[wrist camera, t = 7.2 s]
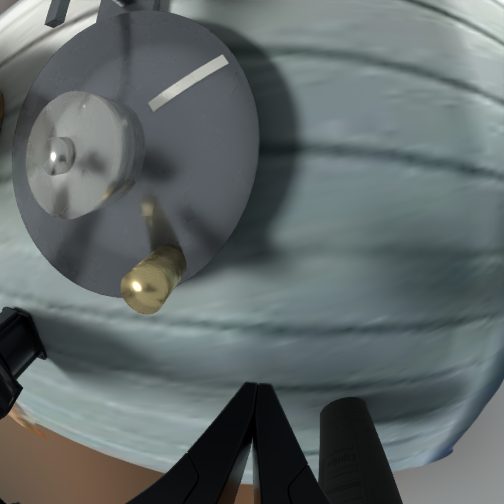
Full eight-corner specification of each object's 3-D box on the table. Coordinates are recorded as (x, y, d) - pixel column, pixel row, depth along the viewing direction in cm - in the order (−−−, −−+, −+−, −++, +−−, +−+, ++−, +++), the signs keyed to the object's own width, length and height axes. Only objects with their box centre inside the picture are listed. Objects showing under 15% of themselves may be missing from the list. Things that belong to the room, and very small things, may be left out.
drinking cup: (326, 438, 26) (335, 591, 7) (292, 409, 24) (288, 600, 5) (388, 410, 24) (425, 569, 5) (362, 376, 22) (407, 583, 3)
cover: (147, 205, 16) (109, 223, 12) (64, 208, 16) (22, 223, 12) (147, 89, 13) (108, 73, 9) (61, 110, 14) (18, 107, 10)
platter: (258, 299, 18) (252, 348, 13) (39, 279, 20) (3, 305, 15) (259, -2, 12) (252, -48, 7) (27, 64, 13) (-14, 57, 8)
